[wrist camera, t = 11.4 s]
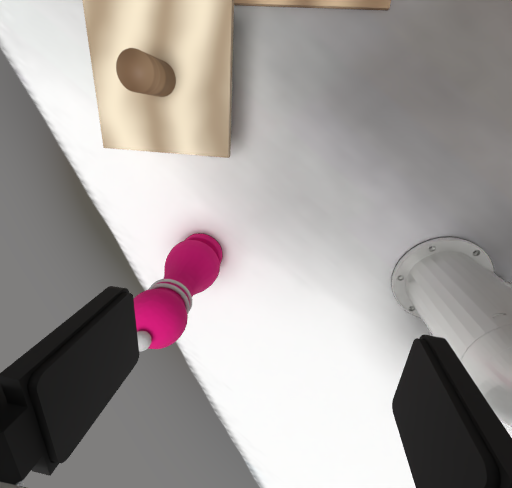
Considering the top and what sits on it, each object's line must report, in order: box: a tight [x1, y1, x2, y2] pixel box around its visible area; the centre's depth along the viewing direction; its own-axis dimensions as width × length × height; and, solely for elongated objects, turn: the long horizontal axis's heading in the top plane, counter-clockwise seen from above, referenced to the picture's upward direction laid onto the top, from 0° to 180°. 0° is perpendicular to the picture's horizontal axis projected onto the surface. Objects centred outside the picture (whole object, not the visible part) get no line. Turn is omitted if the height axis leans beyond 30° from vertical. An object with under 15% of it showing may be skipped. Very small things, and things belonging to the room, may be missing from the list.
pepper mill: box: [133, 234, 222, 351], centre depth 34 cm, size 7×7×20 cm
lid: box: [83, 0, 234, 158], centre depth 27 cm, size 14×14×6 cm
